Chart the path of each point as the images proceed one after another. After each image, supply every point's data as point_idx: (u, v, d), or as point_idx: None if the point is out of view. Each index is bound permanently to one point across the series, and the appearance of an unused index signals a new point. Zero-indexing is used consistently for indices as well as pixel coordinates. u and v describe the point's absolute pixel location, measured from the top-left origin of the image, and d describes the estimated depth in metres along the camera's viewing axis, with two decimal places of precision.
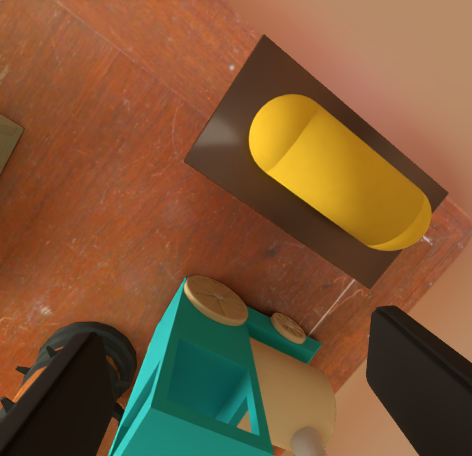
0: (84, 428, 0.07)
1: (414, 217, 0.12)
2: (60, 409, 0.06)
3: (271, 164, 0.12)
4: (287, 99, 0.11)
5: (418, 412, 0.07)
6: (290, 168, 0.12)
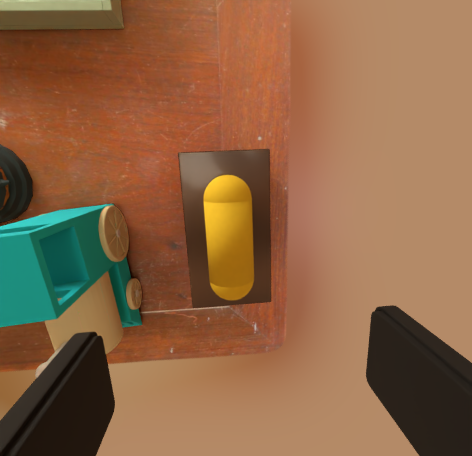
0: (84, 428, 0.07)
1: (235, 285, 0.21)
2: (60, 409, 0.06)
3: (207, 200, 0.20)
4: (240, 184, 0.20)
5: (418, 412, 0.07)
6: (211, 210, 0.20)
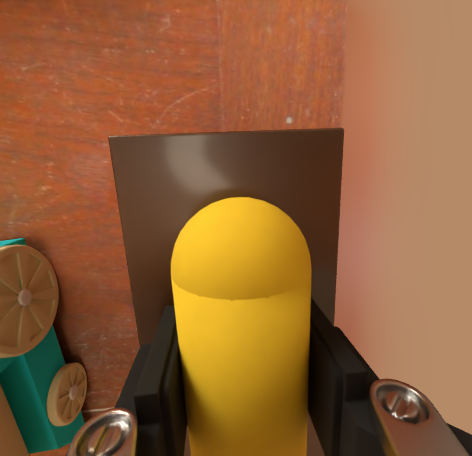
0: None
1: None
2: (178, 360, 0.07)
3: (177, 279, 0.06)
4: (284, 232, 0.06)
5: (310, 385, 0.08)
6: (191, 316, 0.06)
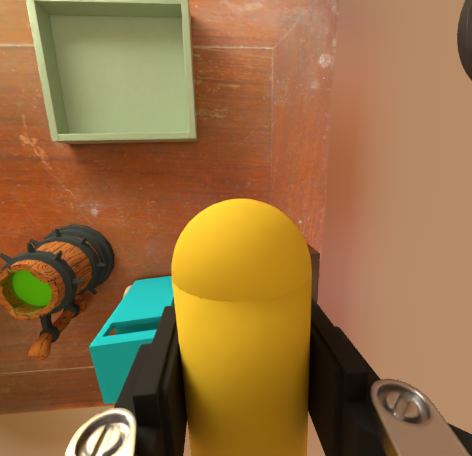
0: None
1: None
2: (177, 360, 0.07)
3: (178, 281, 0.06)
4: (284, 234, 0.06)
5: (311, 385, 0.08)
6: (192, 317, 0.06)
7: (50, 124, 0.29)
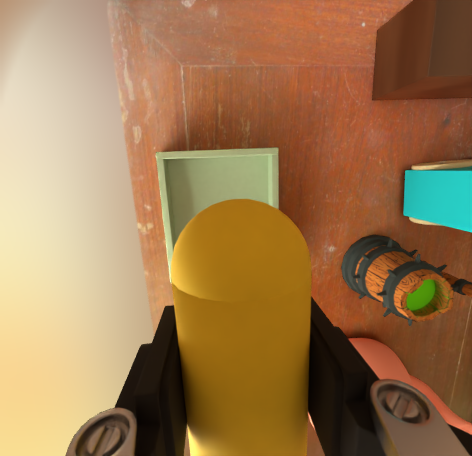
0: None
1: None
2: (178, 360, 0.07)
3: (178, 281, 0.06)
4: (284, 234, 0.06)
5: (311, 385, 0.08)
6: (191, 318, 0.06)
7: None
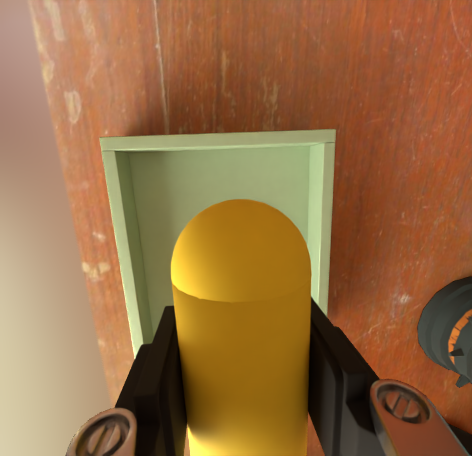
0: None
1: None
2: (178, 360, 0.07)
3: (178, 282, 0.06)
4: (284, 234, 0.06)
5: (311, 385, 0.08)
6: (191, 318, 0.06)
7: None
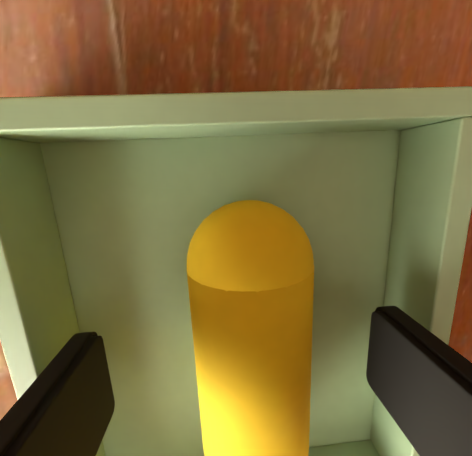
0: (84, 428, 0.07)
1: None
2: (60, 409, 0.06)
3: (201, 277, 0.07)
4: (294, 230, 0.07)
5: (418, 412, 0.07)
6: (216, 310, 0.07)
7: None
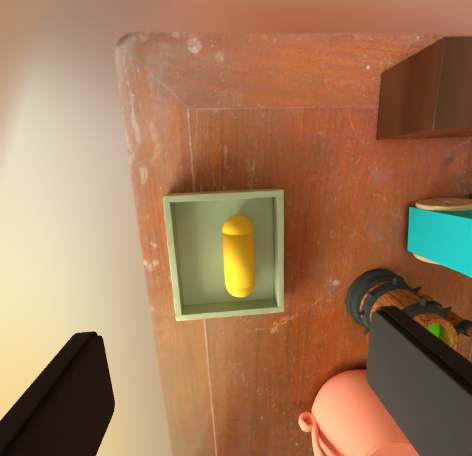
0: (84, 428, 0.07)
1: (252, 284, 0.32)
2: (60, 409, 0.06)
3: (235, 233, 0.30)
4: (249, 220, 0.32)
5: (418, 412, 0.07)
6: (239, 239, 0.30)
7: (270, 311, 0.34)
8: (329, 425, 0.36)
